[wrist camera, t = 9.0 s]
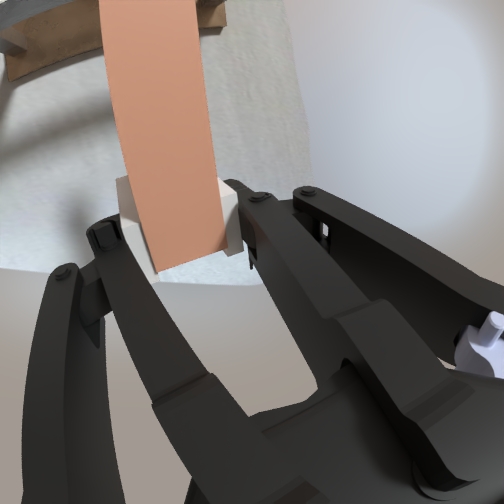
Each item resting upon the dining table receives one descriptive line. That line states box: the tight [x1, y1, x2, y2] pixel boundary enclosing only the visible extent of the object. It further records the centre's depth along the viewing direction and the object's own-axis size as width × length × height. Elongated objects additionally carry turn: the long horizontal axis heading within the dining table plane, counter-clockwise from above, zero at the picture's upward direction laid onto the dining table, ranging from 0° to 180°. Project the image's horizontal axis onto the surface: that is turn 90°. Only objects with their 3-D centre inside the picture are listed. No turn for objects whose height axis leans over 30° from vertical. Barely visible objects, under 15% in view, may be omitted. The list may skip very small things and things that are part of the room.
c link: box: [99, 0, 228, 272], centre depth 13 cm, size 3×12×12 cm, turn 8°
